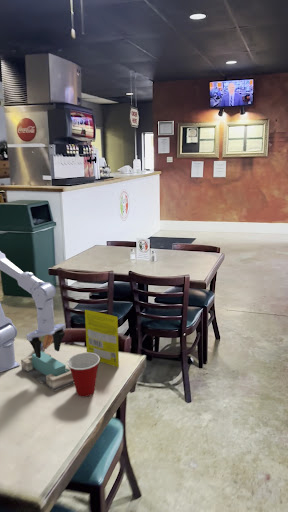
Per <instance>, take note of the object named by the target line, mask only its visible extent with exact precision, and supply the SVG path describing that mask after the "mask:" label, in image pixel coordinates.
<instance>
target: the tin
mask: <svg viewBox="0 0 288 512" xmlns="http://www.w3.org/2000/svg"><path fill="white" fill-rule="evenodd" d="M38 339H39V340H40V341H41V349H40V350H41V351H42V352H44V350H45V349H46V350H47V349H48V347H49V346H51V344H52V343H54V339H53V334H52V335H45V336H42V337H39V338H38ZM50 343H51V344H50ZM46 350H45V351H46Z"/></svg>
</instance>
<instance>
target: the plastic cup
mask: <svg viewBox="0 0 288 512" xmlns="http://www.w3.org/2000/svg"><path fill="white" fill-rule="evenodd" d="M99 361H100V357H99V356H98V355H97V354H95V353H87V351H86V352H80V353H76V354H73V355H72V356H70V357H69V358H68V360H67V361H66V363H67V367H69V368H70V370H71V372H72V376H73V380H74V383H73V384H74V386H75V392H76V394H77V396H79V397H84V398H85V397H90V396H92V395H93V394H94V393H95V389H96V383H97V376H98V375H97V374H98V368H99V363H100V362H99Z"/></svg>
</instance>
